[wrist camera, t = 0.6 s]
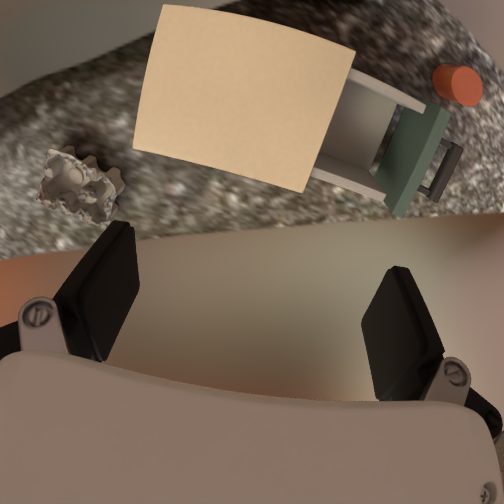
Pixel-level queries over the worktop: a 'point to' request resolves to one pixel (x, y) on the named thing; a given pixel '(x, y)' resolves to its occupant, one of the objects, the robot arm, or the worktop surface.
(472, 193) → the worktop surface
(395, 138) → the green-fronted drawer
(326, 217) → the worktop surface
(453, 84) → the orange cylinder
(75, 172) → the egg carton
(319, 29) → the worktop surface
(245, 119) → the wooden drawer box
